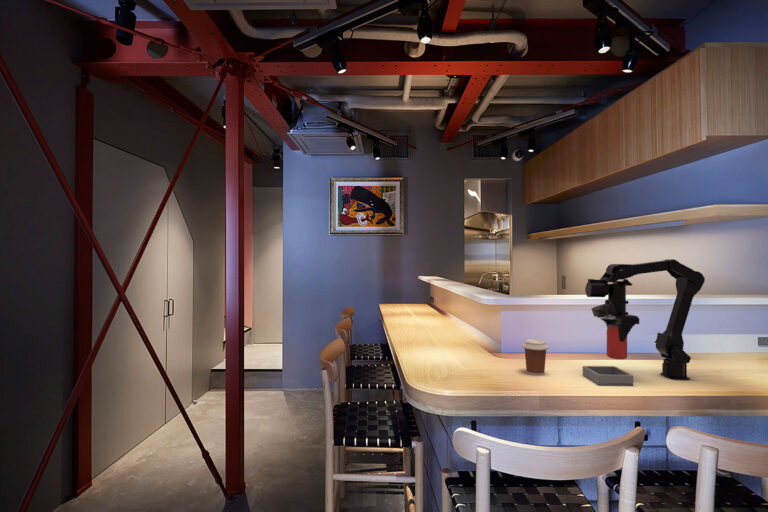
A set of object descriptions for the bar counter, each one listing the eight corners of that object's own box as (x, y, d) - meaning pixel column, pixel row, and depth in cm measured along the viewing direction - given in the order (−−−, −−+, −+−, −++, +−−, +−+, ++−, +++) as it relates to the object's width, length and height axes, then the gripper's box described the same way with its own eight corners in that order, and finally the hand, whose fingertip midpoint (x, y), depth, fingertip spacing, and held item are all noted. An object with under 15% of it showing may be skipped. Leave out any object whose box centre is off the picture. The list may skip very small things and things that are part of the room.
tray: (614, 375, 146) (614, 366, 146) (633, 385, 134) (633, 375, 134) (582, 375, 146) (582, 366, 146) (598, 385, 135) (598, 375, 135)
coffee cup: (544, 369, 154) (543, 338, 154) (551, 376, 145) (551, 343, 145) (520, 369, 155) (519, 338, 155) (526, 375, 146) (525, 343, 146)
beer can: (630, 360, 143) (630, 327, 143) (610, 359, 144) (610, 326, 144) (623, 355, 149) (623, 324, 149) (604, 355, 151) (604, 323, 151)
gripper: (583, 295, 157) (583, 334, 156) (607, 300, 138) (607, 344, 138) (612, 295, 156) (612, 335, 156) (640, 300, 137) (640, 345, 137)
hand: (616, 339), depth 147 cm, fingers closed on beer can, 6 cm apart
